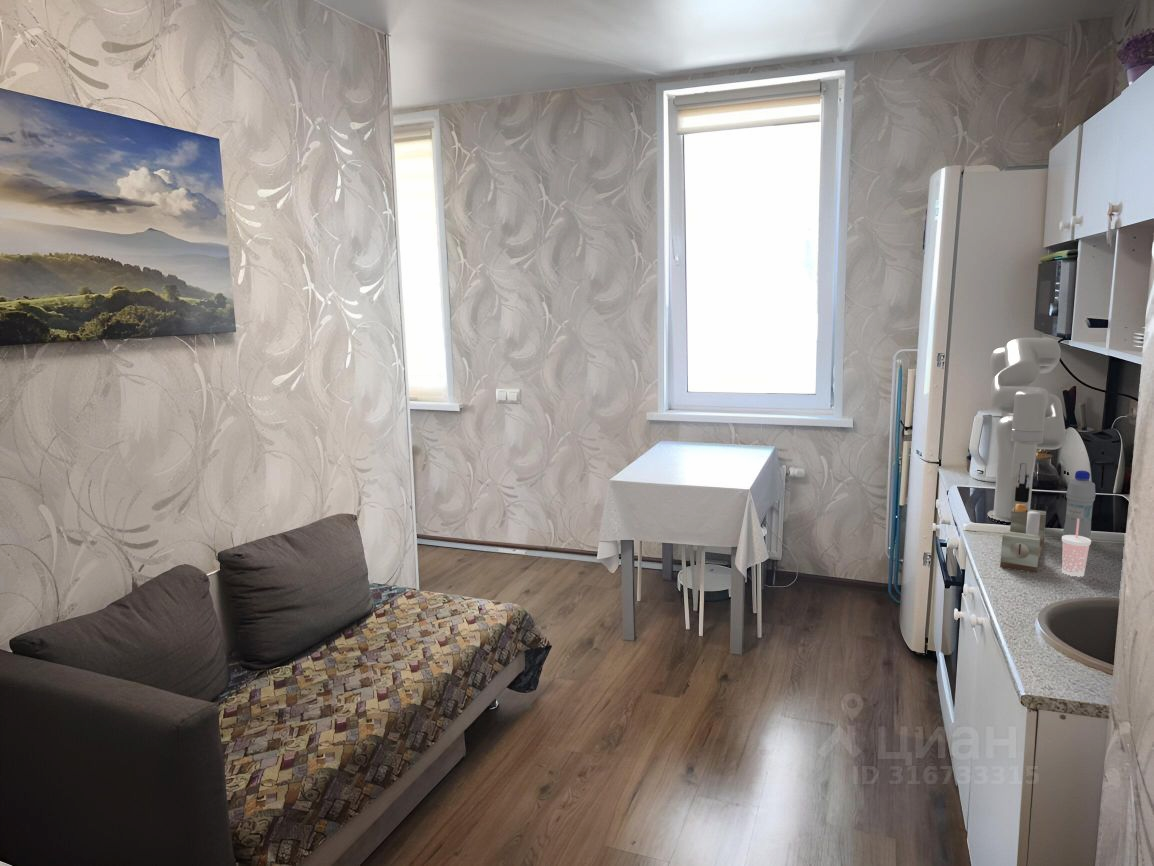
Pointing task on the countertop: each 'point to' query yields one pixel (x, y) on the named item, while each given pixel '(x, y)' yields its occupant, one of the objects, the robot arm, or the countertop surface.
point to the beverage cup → (1075, 553)
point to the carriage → (1033, 523)
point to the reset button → (1020, 507)
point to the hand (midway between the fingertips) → (1021, 501)
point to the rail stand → (1022, 543)
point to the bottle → (1079, 504)
